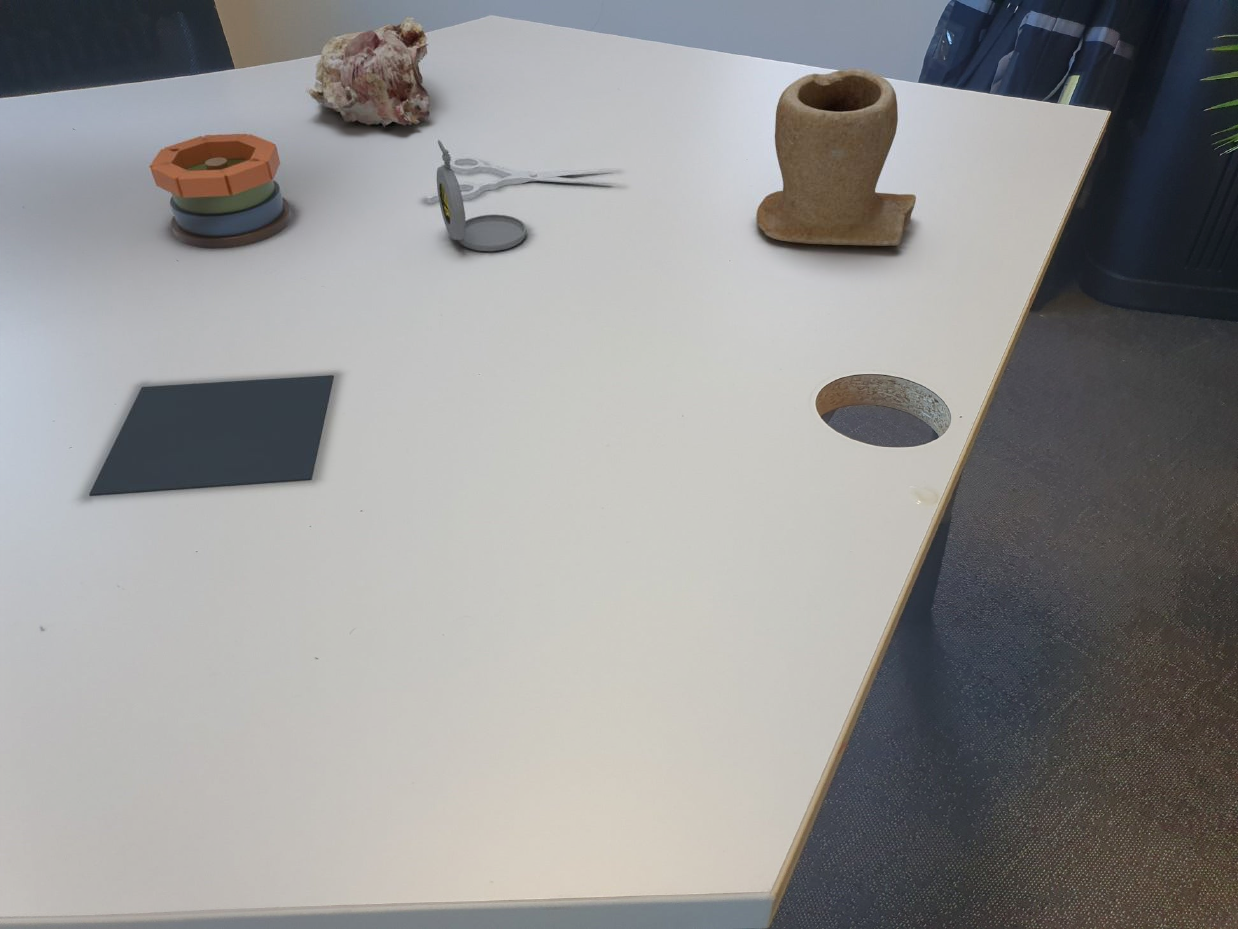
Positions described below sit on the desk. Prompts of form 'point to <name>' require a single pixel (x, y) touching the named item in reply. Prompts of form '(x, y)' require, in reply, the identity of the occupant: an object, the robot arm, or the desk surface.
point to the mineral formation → (374, 75)
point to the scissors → (509, 175)
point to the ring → (215, 182)
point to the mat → (218, 435)
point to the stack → (229, 214)
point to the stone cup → (835, 163)
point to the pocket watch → (477, 230)
